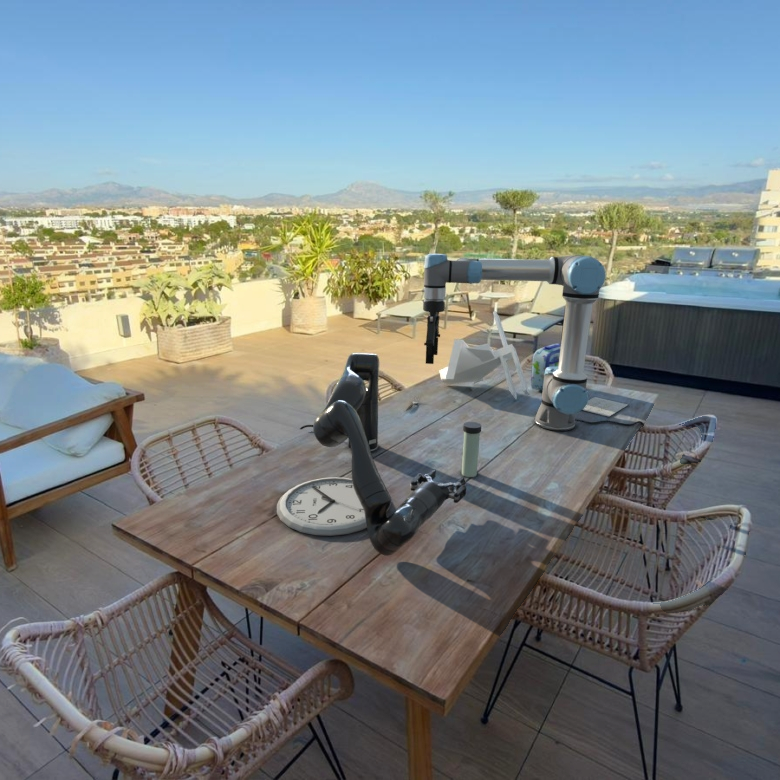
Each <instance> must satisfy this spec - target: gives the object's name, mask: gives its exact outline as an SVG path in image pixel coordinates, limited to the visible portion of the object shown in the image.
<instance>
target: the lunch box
mask: <svg viewBox="0 0 780 780" xmlns="http://www.w3.org/2000/svg"><path fill="white" fill-rule="evenodd" d="M560 349H561V343H553V344H550V345H547V346H546V345H545V346H544V347H541V348H538V349H537V350H536V351H535V352H534V354H533V357H532V362H531V371H530V372H531V374H530V387H531V389H533V390H539V391H543V382H544V373H545V369H546V368H547V367H554V366H557V367H558V366H559V357H560Z"/></svg>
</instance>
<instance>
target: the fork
mask: <svg viewBox="0 0 780 780" xmlns="http://www.w3.org/2000/svg"><path fill="white" fill-rule="evenodd" d="M420 399H421V397H420V396H415V397H414V398H413V400H412V404H410V405H408V407H407V408H406V410H405V411H409V410H411V409H412V408H413V406H414V405H415V404H419V402H420Z"/></svg>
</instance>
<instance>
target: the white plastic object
mask: <svg viewBox="0 0 780 780" xmlns="http://www.w3.org/2000/svg"><path fill="white" fill-rule="evenodd" d="M492 315H493V319H494V321H495V324H496V325H495V326H496V328H497V332H498V335H499V338H500V342H501V345H502V347H500V348H498V349H496V350H495V349H493V348H492V347H491V346H490V344H489V343H488V342H487V343H483V344H479V345H473V346H469V345H468V343H466V342H465V340H464V339H463V338H460V339H458V338H454V340H453V344H452V349H451V353H450V357H449V362H448V366H446V367H444V368H442V369H440V370H439V371H438V372H439V376H440V381H442V383H443V384H444V385H445V386H449V385H458V384H467V383H468V384H469V383H473V384H477V383H480V382H482V381H484V378H485V377H486V376H487V375H489V374H490V373H492V372H494V371H495V370H496V369H497V368H499V367H500V366H502V370H503V373H504V376H505V380H506V383H507V386H508V390H509V393H510V394H511V395H512V397H513V398H514V399H515V400H517V392H516V391H517V390H516V388H515V385H514V381H513V378H512V375H511V371H510V369H509V365H508V361H510V360H513V363H514V366H515V369H516V372H517V376H518V380H519V382H520V385H521V389H522V391H523V393H524V395H525V396H526V397H528V396H531V395H530V390H529V388H528V387H529V386H528V384H527V381H526V378H525V375H524V371H523V369H522V368H523V367H522V366H521V362H520V359H519V355H518V352H517V349H516V347H515V346H514V345H513V343H511V344H508V341H507V337H506V334H505V331H504V328H503V325H502V321H501V318H500V315H499V314H498V312H497V311H496V310H495V311H492Z"/></svg>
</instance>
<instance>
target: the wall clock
mask: <svg viewBox="0 0 780 780" xmlns="http://www.w3.org/2000/svg"><path fill="white" fill-rule="evenodd" d="M276 515H277V517H278V518H279V520H280V521H281V522H282V523H283V524H285V525H286V526H287V527H288V528H290V529H293V530H295V531H297V532H299V533H303V534H308V535H312V536H327V537H328V536H329V537H331V536H332V537H333V536H342V535H350V534H352V533H356V532H361V531H363V530H366V529H367V525H366V520H365V513H364V509H363V507H362V505H361V503H360V501H359V499H358V497H357V495H356V493H355V490H354V487H353V483H352V478H349V477H338V476H337V477H335V476H333V477H332V476H331V477H322V478H317V479H312V480H307V481H305V482H302V483H299V484H297V485H295V486H293V487H292V488H290V489H288V490H287V491H286V492H285V493H284V494H283V495H281V496H280V498H279V499H278V502H277V503H276Z"/></svg>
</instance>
